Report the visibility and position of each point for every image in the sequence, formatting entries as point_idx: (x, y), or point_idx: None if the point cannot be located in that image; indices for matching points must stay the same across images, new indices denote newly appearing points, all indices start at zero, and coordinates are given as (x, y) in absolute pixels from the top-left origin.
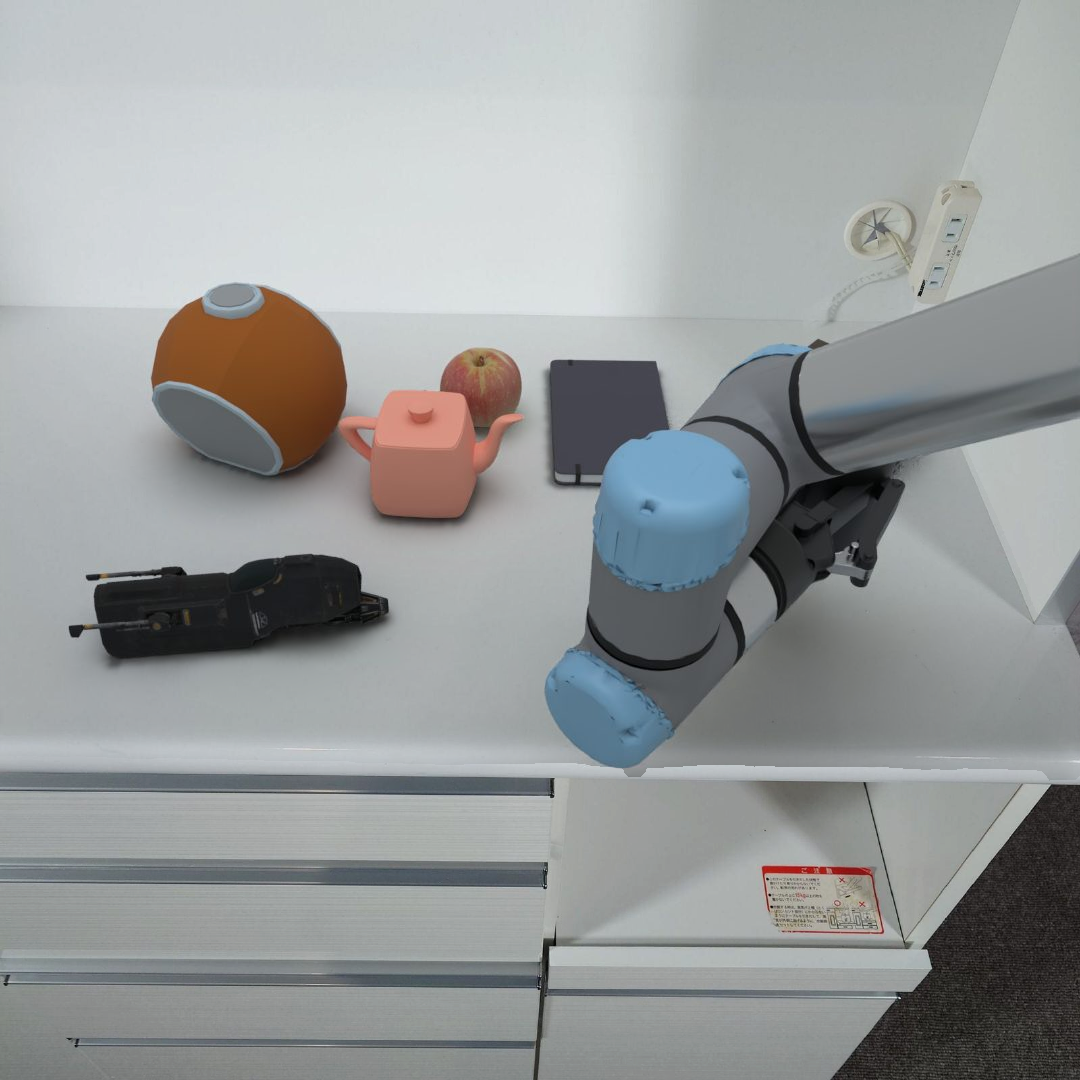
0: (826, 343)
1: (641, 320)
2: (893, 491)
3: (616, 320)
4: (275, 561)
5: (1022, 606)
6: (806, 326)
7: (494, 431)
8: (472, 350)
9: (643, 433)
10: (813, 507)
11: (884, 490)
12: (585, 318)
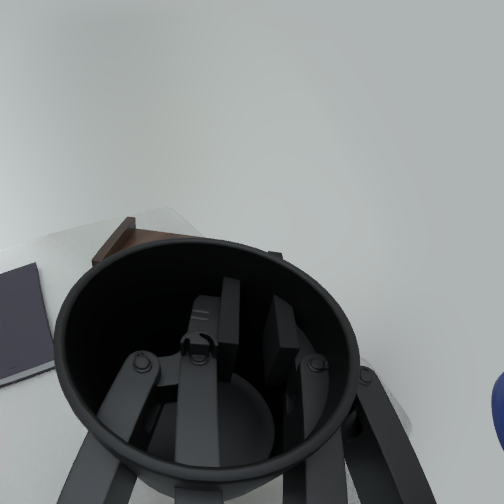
0: (133, 218)
1: (32, 239)
2: (375, 399)
3: (19, 243)
4: None
5: None
6: (121, 217)
7: None
8: None
9: (27, 324)
10: (239, 493)
11: (366, 409)
12: (4, 248)
